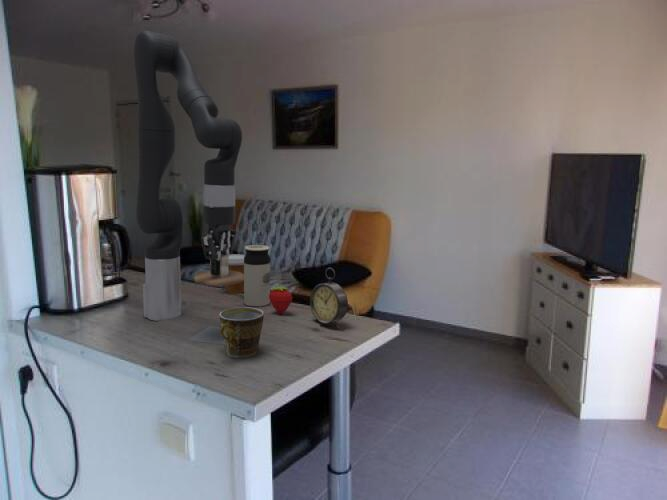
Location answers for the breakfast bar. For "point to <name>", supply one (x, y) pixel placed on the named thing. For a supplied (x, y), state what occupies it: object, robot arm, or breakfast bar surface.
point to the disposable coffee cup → (237, 265)
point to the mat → (209, 336)
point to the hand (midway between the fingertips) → (219, 273)
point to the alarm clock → (328, 302)
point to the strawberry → (280, 299)
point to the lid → (225, 275)
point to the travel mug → (256, 276)
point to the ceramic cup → (241, 330)
